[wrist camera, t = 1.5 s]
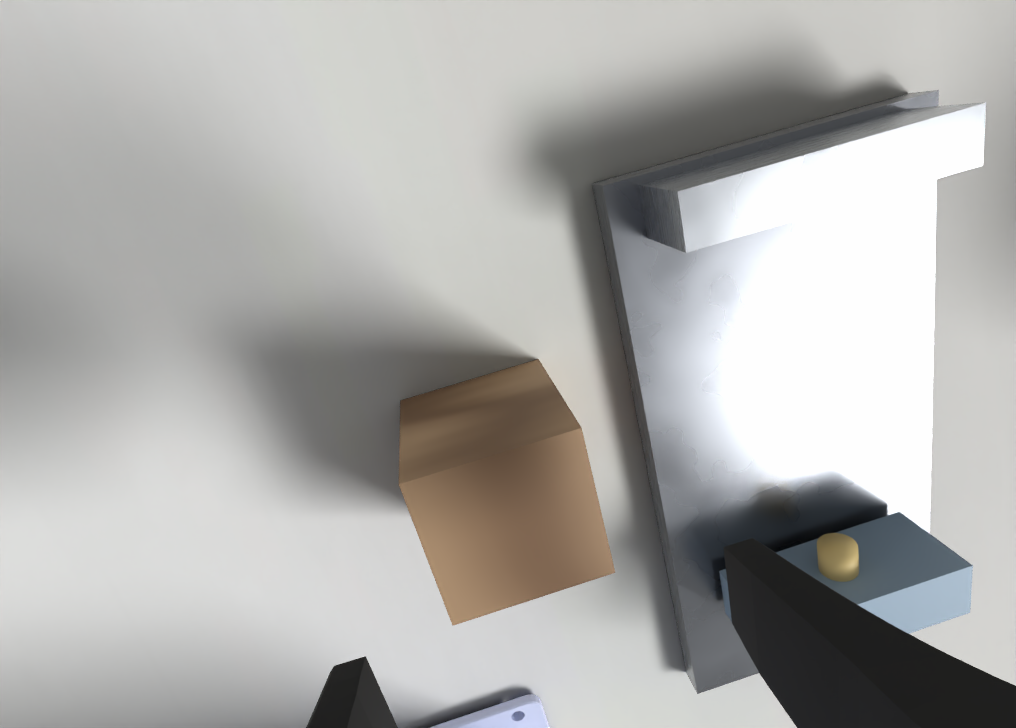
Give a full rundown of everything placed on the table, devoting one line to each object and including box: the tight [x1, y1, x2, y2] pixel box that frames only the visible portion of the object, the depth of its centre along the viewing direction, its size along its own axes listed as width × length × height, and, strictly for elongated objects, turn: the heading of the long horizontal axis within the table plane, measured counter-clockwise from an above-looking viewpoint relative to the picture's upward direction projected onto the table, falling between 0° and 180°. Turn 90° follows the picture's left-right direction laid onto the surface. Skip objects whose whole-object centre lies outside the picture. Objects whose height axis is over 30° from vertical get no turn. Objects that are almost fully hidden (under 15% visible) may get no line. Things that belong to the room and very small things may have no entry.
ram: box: [719, 512, 973, 634], centre depth 19 cm, size 6×7×6 cm
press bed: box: [592, 90, 986, 694], centre depth 19 cm, size 20×10×4 cm, turn 14°
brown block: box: [399, 359, 615, 625], centre depth 17 cm, size 4×4×5 cm
